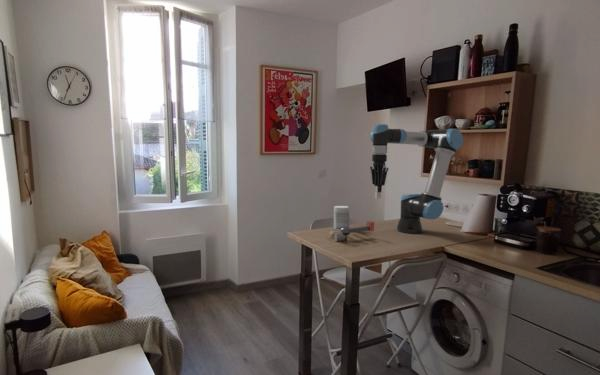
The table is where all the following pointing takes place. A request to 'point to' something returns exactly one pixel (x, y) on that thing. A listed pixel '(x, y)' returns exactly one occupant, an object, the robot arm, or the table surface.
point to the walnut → (332, 234)
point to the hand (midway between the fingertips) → (377, 198)
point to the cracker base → (356, 240)
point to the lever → (346, 231)
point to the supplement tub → (341, 217)
